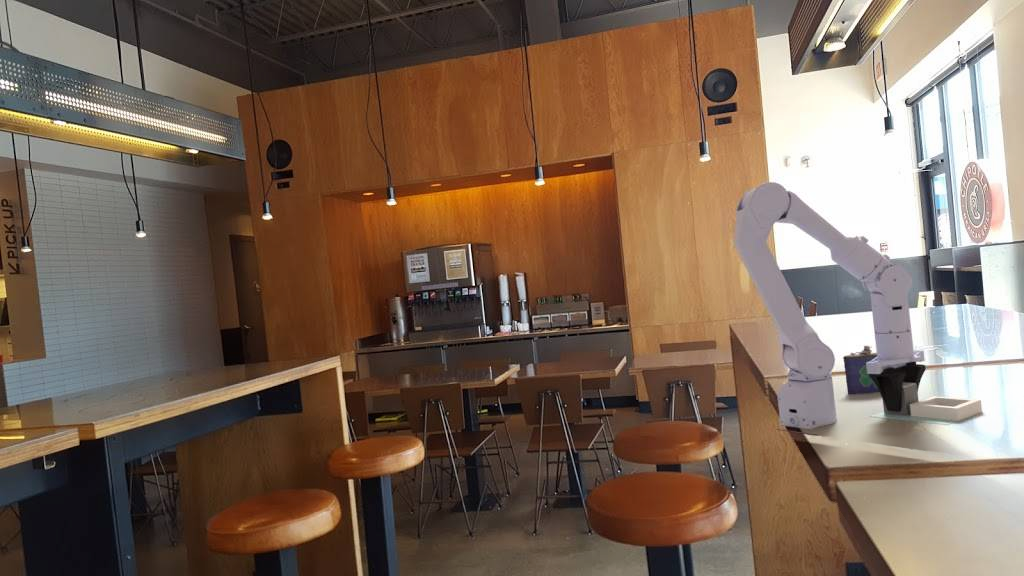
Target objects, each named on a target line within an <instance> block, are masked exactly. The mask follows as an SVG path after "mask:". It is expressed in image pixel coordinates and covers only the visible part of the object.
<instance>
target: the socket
mask: <svg viewBox="0 0 1024 576" xmlns="http://www.w3.org/2000/svg"><path fill="white" fill-rule="evenodd" d="M910 410H911V416H917V417H926V418H936V419H946V420H956V421H957V422H960V421H962V419H963V420H965V419H967V417H968V418H971V417H973V416H975V414H976V415H978V414H980V412H981V413H983V412H982V411H983V406H982V400H981V399H977V398H976V399H973V398H961V397H960V398H959V397H949V396H935V395H933V396H930V397H928V398H925V399H922V400H919V401H918V402H915V403H912V404H910ZM977 413H978V414H977ZM972 415H973V416H972ZM964 418H965V419H964ZM959 420H960V421H959Z"/></svg>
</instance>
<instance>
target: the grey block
mask: <svg viewBox="0 0 1024 576" xmlns="http://www.w3.org/2000/svg"><path fill="white" fill-rule="evenodd" d="M918 401H920V400H919V392H917V384H916V383H908V382H903V385H902V406H901V411H899V412H895V411H887V408H886V406H885V403H884V401H883V400H882V405H883V406H882V407H883V412H884V414H894V415H904V416H908V415H911V410H910V404H912V403H915V402H918Z"/></svg>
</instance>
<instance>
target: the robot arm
mask: <svg viewBox="0 0 1024 576" xmlns="http://www.w3.org/2000/svg"><path fill="white" fill-rule="evenodd" d="M735 216H736V218H735V226H734V235H733V236H734V238H733V244H734V246H735V249H736V251H737V253H738V255H739V257H740V259H741V261H742V263H743V265H744V267H745V269H746V272H747V273H748V275H749V277H750V278H751V281H752V282H753V284H754V286H755V288H756V290H757V293H758V295H759V296H760V298H761V301H762V303H763V304H764V306H765V308H766V310H767V312H768V314H769V316H770V318H771V320H772V322H773V325H774V326H775V328H776V330H777V332H778V333H777V337H778V338H777V340H778V342H779V343H780V346H781V357H782V359H781V360H782V361H783V363H784V365H785V366H786V367H787V368H788V369H789V371H788V373H787V382H786V383H785V384H783V385H782V386H780V388H779V390H778V391H777V392H778V393H777V404H778V412H779V421H780V422H779V423H780V426H784V427H791V428H798V429H805V430H812V429H815V428H818V427H822V426H825V425H826V426H827V425H831V424H835V423H836V422H837V421H838V419H837V409H836V401H835V394H834V393H835V392H834V383H833V376H832V374H833V373H832V371H833V369H834V367H835V363H836V357H835V354H834V352H833V349H832V348H830V346H829V345H827V344H825V343H824V342H823V341H822V340H821V339H820V337H819V335H818V333H817V332H816V330H814V328H813V327H812V326H811V325H810V324H809V323H808V321H807V320H806V318H805V316H804V314H803V312H802V310H801V308H800V306H799V304H798V302H797V300H796V298H795V296H794V294H793V292H792V290H791V288H790V286H789V284H788V282H787V281H786V279H785V276H784V274H783V273H782V271H781V269H780V266H779V264H778V262H777V260H776V259H775V257H774V255H773V253H772V251H771V249H770V247H769V245H768V243H767V240H768V239H769V236H770V233H771V231H772V229H773V228H774V225H775V223H779V224H791V225H794V226H795V227H796V228H798V229H800V230H801V231H803V232H804V233H805V234H807V235H809V237H812V238H813V239H814V240H816V241H817V242H819V243H820V244H822V245H823V246H824V247H826V248H827V249H829V250H830V251H829V252H830V257H831V260H832V261H833V262H834V263H835V264H837V265H838V266H839V267H841V268H842V269H844V270H845V271H846V272H848V274H850V275H851V276H853V277H854V278H855V279H857V280H858V282H859V281H860V282H861V283H862V286H863V289H864V290H865V292H868V293H869V295H870V303H871V314H872V321H873V323H872V324H873V330H874V331H873V333H874V341H875V349H876V353H877V357H876V358H874V359H873V360H871V361H870V362H867V363H866V367H867V374H869V377H870V378H871V379H872V380H873V382H874V383H875V384H876V386H877V388H878V389H879V391H880V392H879V393H880V395H881V398H882V402H883V401H884V403H885V406H886V408H887V411H895V412H899V411H901V406H902V385H903V382H908V383H916V384H917V392H918V391H919V387H920V383H921V381H922V377H923V375H924V373H925V372H926V369H927V368H926V365H925V364H921V363H922V362H925V361H926V360H925V359H926V358H925V351H924V350H923V349H922V350H919V349H918V350H914V343H913V334H912V326H911V323H912V322H911V316H910V306H909V300H908V299H909V297H908V293H909V291H910V290H911V288H912V287H913V284H914V283H913V282H914V281H913V280H914V278H913V277H911V276H910V274H909V271H908V270H907V269H906V267H904V266H903V265H901V264H899V263H892V262H890V259H891V257H890V256H889V255H888V254H882V253H880V252H879V251H877V250H876V249H875V248H874V247H872V246H871V245H869V243H868V242H869V239H868V238H866V237H865V236H864V235H863V236H857V235H856V234H848V235H844V234H843V233H842V232H841V231H839V230H838V229H837V228H835V226H834V225H832V224H831V223H829V221H827V220H826V219H825V218H823V216H821V215H820V214H818V212H816V211H815V210H814V209H813V208H812V207H810V206H809V205H808V204H807V203H805V202H804V201H803V199H801V198H800V197H799V195H797V194H796V193H794V192H792V191H790V190H787V189H786V188H785V187H784V186H783V185H781V183H778V182H775V181H766V182H764V183H761V184H759V185H758V186H756V187H755V188H751V189H749V190H747V191H746V192H744V194H743V195H742V196H741V198H740V200H739V201H738V204H737V206H736V208H735ZM918 362H919V363H920V364H917V363H918ZM918 393H919V392H918ZM776 430H777V431H780V432H781V431H782V432H788V433H789V432H790V433H796V434H802V435H810V436H817V434H815V433H808V432H801V431H795V430H789V429H788V430H786V429H779V428H777V429H776Z"/></svg>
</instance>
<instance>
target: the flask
mask: <svg viewBox="0 0 1024 576" xmlns="http://www.w3.org/2000/svg"><path fill="white" fill-rule="evenodd" d="M863 347H864V348H863V350H861V351H856V352H855V353H853V352H850V354H848V355H843V365H844V374H845V379H846V380H845V381H846V389H847V394H848V395H861V394H863V395H864V394H871V393H872V394H874V393H880V391H879V389H878V388H877V386H876V384H875V383H874V382H873V380H872V379H871V378H870V377H869V374H867V367H866V363H867V362H870V361H871V360H873V359H874V358H876V357H877V352H872V351H873V350H872V346H870V345H863Z"/></svg>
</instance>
